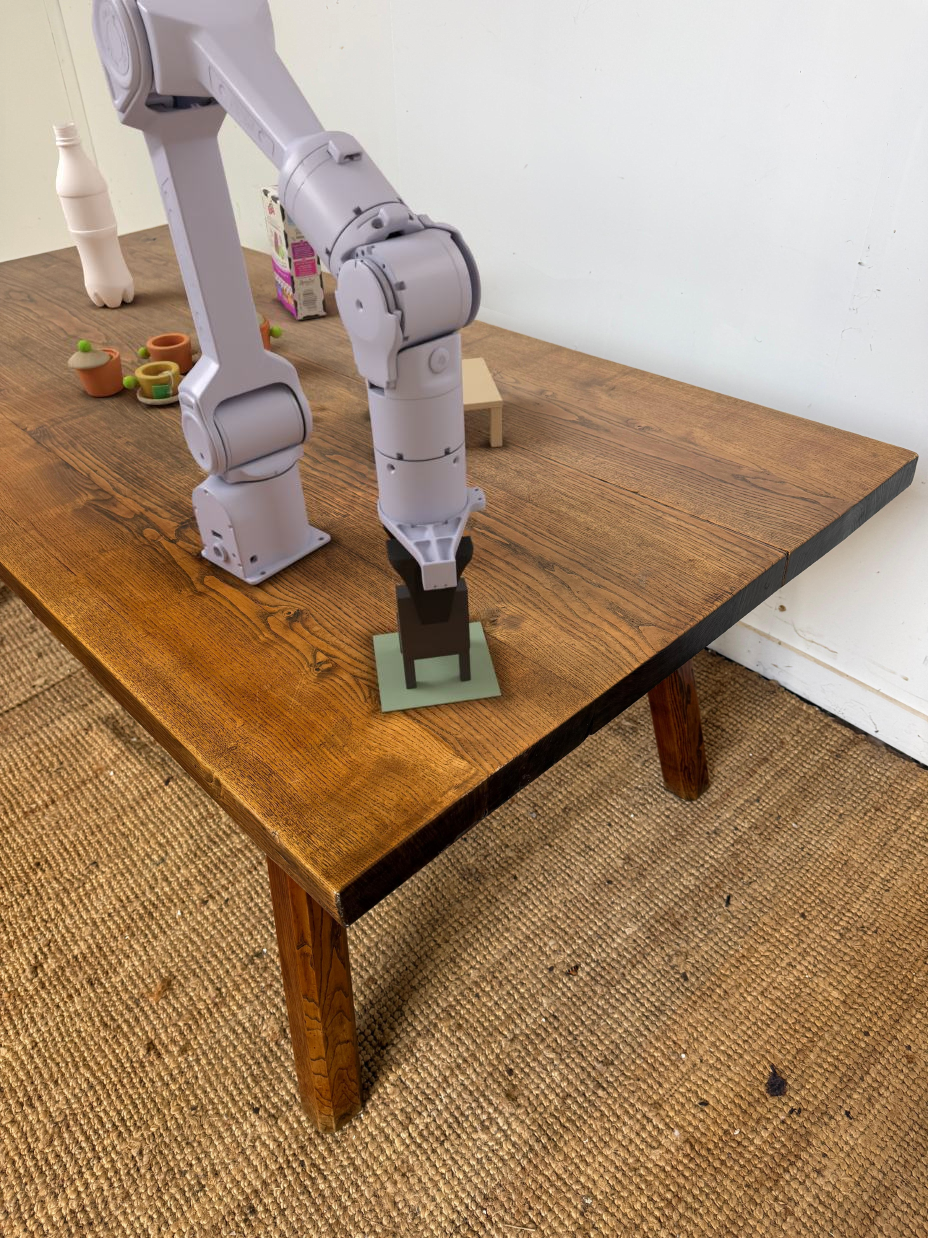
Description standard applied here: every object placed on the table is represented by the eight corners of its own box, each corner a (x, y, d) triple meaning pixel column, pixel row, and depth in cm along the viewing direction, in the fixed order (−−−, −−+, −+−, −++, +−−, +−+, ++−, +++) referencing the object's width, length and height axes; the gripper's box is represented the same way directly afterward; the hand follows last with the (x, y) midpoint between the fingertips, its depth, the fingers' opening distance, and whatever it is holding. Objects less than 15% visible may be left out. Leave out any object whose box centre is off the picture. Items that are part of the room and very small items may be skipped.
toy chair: (472, 684, 67) (467, 589, 62) (407, 693, 67) (396, 598, 61) (461, 639, 71) (456, 547, 66) (399, 647, 71) (389, 555, 65)
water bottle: (81, 308, 138) (26, 129, 122) (108, 293, 143) (58, 119, 128) (121, 311, 136) (69, 129, 121) (146, 296, 142) (100, 119, 126)
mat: (501, 696, 66) (501, 695, 66) (382, 712, 65) (382, 711, 65) (480, 622, 73) (480, 621, 73) (372, 636, 72) (372, 635, 72)
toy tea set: (250, 337, 126) (237, 267, 120) (302, 370, 116) (290, 296, 110) (67, 388, 114) (42, 313, 108) (106, 429, 104) (81, 350, 98)
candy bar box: (329, 315, 131) (314, 197, 121) (297, 321, 130) (278, 202, 120) (307, 294, 139) (291, 181, 129) (277, 299, 138) (257, 185, 128)
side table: (503, 446, 97) (502, 399, 94) (377, 460, 96) (371, 413, 92) (484, 400, 106) (483, 356, 103) (368, 413, 105) (363, 368, 102)
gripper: (504, 490, 50) (506, 669, 58) (463, 385, 61) (470, 548, 69) (380, 504, 49) (400, 684, 57) (362, 396, 60) (381, 559, 69)
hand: (432, 611), depth 63 cm, fingers closed on toy chair, 2 cm apart
